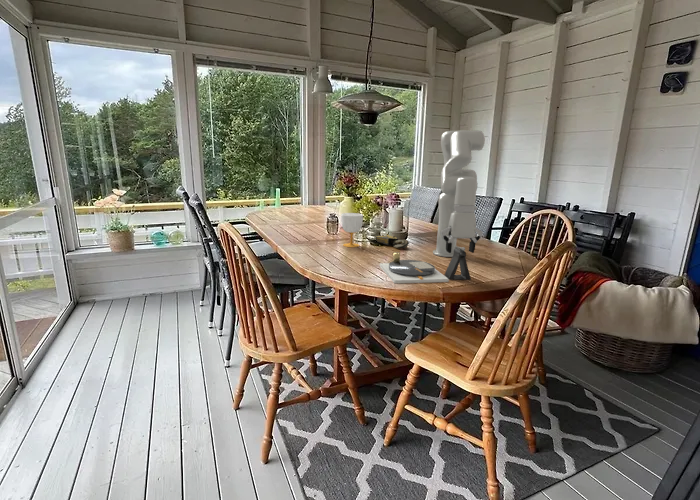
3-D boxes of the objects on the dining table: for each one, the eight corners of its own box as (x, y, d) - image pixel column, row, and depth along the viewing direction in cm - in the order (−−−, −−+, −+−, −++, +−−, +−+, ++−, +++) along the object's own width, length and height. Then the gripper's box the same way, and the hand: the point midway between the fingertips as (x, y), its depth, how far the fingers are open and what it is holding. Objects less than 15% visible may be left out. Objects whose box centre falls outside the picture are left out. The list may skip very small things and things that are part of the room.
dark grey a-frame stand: (465, 275, 159) (468, 247, 156) (470, 280, 153) (473, 251, 150) (444, 275, 158) (446, 247, 156) (448, 280, 153) (451, 250, 150)
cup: (341, 242, 214) (341, 212, 210) (362, 243, 213) (363, 213, 209) (339, 247, 202) (340, 215, 198) (362, 248, 202) (363, 216, 198)
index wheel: (391, 261, 172) (392, 249, 170) (435, 265, 167) (436, 253, 166) (385, 273, 154) (386, 260, 152) (433, 278, 149) (434, 264, 148)
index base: (426, 265, 173) (427, 261, 173) (448, 281, 150) (448, 277, 150) (379, 266, 170) (379, 262, 169) (394, 283, 147) (394, 279, 146)
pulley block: (396, 239, 196) (364, 229, 221) (394, 250, 197) (362, 239, 222) (416, 241, 204) (383, 231, 229) (414, 251, 205) (382, 240, 230)
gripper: (479, 208, 154) (475, 250, 158) (439, 208, 151) (436, 250, 155) (489, 210, 147) (484, 254, 150) (446, 210, 144) (443, 254, 148)
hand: (460, 252), depth 153 cm, fingers open, 9 cm apart
